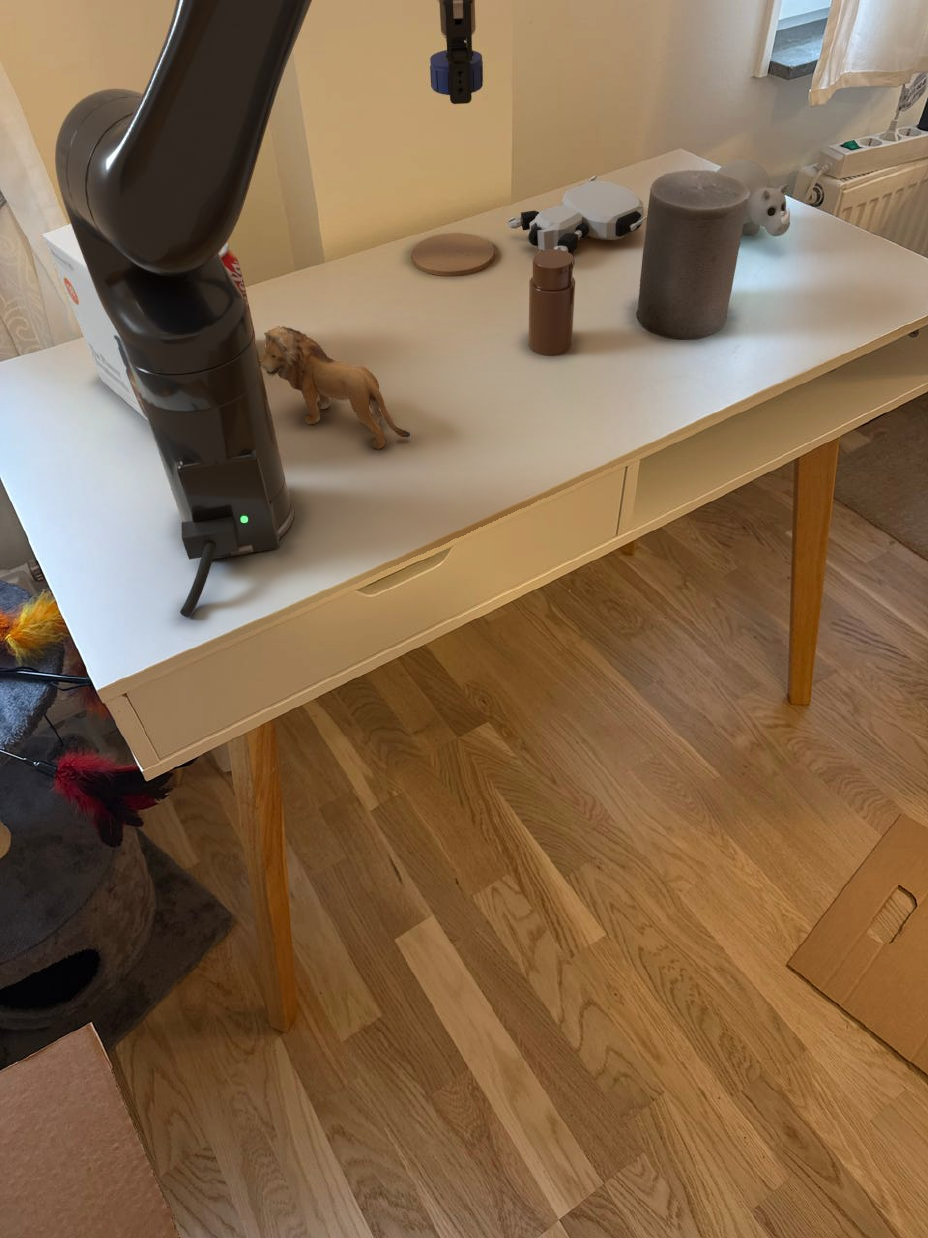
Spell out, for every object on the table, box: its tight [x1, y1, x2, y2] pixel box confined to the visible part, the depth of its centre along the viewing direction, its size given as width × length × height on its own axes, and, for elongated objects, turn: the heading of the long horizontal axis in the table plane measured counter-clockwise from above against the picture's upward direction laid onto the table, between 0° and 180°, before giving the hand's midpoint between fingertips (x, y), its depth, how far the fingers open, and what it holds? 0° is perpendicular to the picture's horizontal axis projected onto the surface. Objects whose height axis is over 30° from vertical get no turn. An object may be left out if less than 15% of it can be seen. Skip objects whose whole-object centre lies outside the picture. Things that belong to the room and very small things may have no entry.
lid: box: [429, 49, 484, 96], centre depth 96 cm, size 5×5×3 cm
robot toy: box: [507, 175, 647, 255], centre depth 113 cm, size 12×4×15 cm
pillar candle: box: [636, 169, 751, 340], centre depth 96 cm, size 10×10×15 cm
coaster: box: [411, 232, 495, 277], centre depth 113 cm, size 10×10×1 cm
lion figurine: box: [259, 325, 412, 450], centre depth 87 cm, size 15×5×9 cm, turn 66°
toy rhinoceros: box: [716, 158, 791, 237], centre depth 110 cm, size 7×12×8 cm, turn 29°
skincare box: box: [42, 223, 148, 422], centre depth 86 cm, size 21×5×16 cm, turn 42°
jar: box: [527, 249, 576, 356], centre depth 95 cm, size 5×5×9 cm
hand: (460, 91), depth 97 cm, fingers closed on lid, 5 cm apart
